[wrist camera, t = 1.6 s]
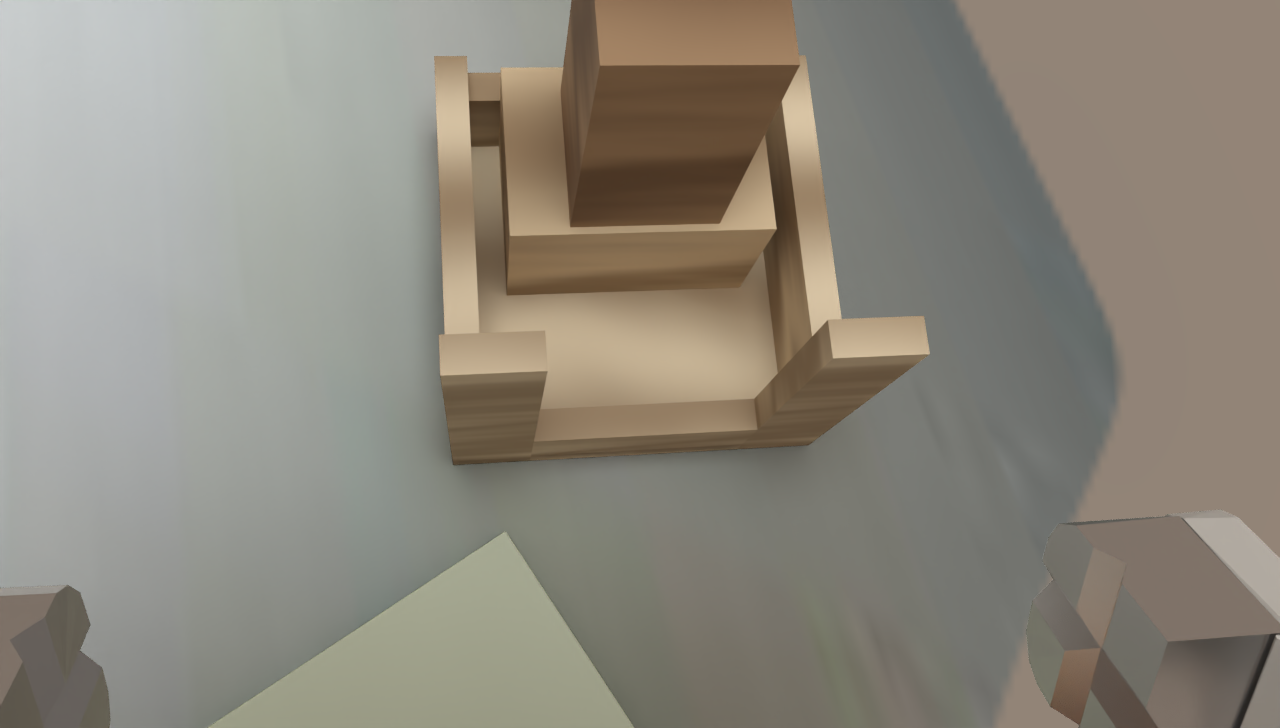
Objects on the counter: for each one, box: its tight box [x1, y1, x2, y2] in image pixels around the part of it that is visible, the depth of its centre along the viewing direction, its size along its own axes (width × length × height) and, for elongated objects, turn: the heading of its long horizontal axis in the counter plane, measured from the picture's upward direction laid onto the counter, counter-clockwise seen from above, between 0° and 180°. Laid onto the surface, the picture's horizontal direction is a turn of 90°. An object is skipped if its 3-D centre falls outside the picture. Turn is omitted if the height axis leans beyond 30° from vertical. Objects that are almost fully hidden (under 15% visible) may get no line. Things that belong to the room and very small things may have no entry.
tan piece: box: [434, 56, 930, 465], centre depth 34 cm, size 12×12×11 cm
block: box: [560, 0, 800, 227], centre depth 30 cm, size 4×4×9 cm
